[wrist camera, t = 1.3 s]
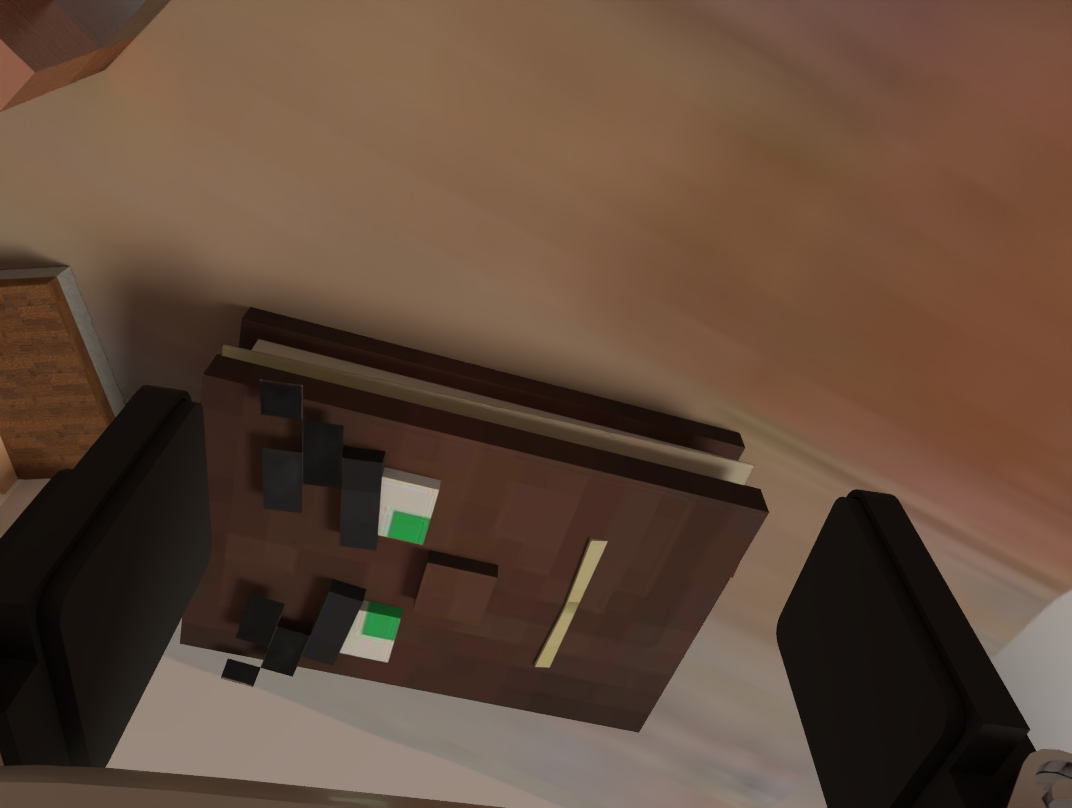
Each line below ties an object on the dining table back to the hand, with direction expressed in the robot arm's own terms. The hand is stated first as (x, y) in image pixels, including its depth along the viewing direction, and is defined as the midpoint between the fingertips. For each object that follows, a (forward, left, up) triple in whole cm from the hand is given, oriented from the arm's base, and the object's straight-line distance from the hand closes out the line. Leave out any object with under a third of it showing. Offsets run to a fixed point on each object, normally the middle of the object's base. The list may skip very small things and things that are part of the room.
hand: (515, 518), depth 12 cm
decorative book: (+15, +14, -26) cm, 33 cm away
